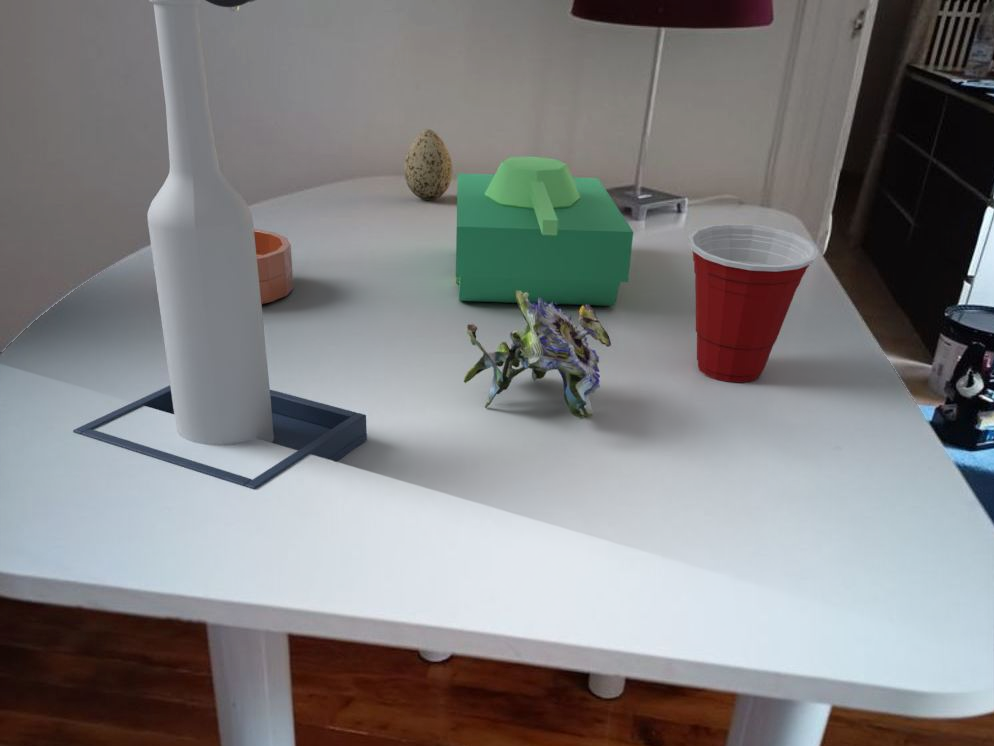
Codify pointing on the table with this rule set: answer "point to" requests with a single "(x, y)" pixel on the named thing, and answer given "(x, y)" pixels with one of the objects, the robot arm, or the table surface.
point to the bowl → (273, 265)
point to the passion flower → (548, 352)
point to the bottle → (205, 259)
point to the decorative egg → (428, 166)
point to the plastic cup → (743, 294)
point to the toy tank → (539, 236)
